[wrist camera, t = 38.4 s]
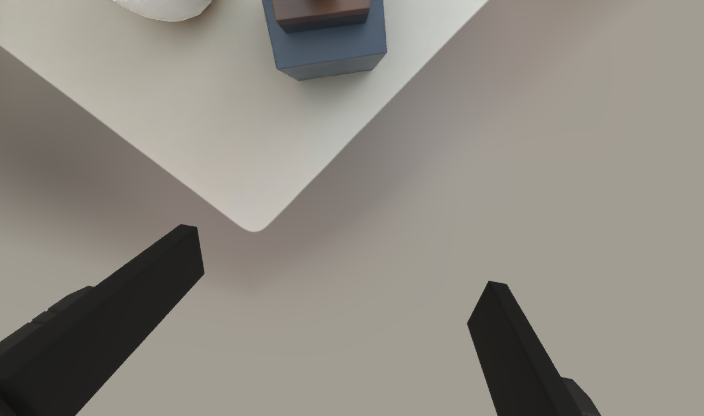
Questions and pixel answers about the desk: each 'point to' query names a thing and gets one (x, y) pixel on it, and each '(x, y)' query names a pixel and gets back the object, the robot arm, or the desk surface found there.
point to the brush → (319, 13)
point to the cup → (166, 8)
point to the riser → (329, 46)
